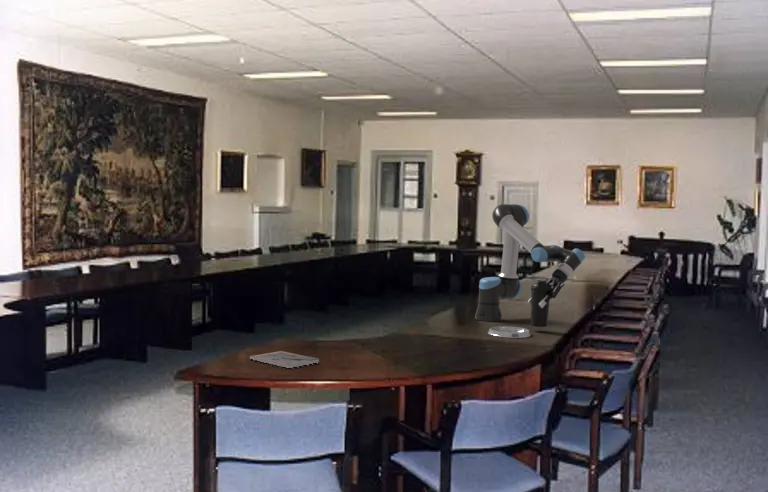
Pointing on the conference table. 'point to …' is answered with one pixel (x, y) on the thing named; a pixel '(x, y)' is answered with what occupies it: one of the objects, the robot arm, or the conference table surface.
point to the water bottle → (537, 313)
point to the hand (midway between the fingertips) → (534, 304)
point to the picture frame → (285, 359)
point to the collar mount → (509, 332)
